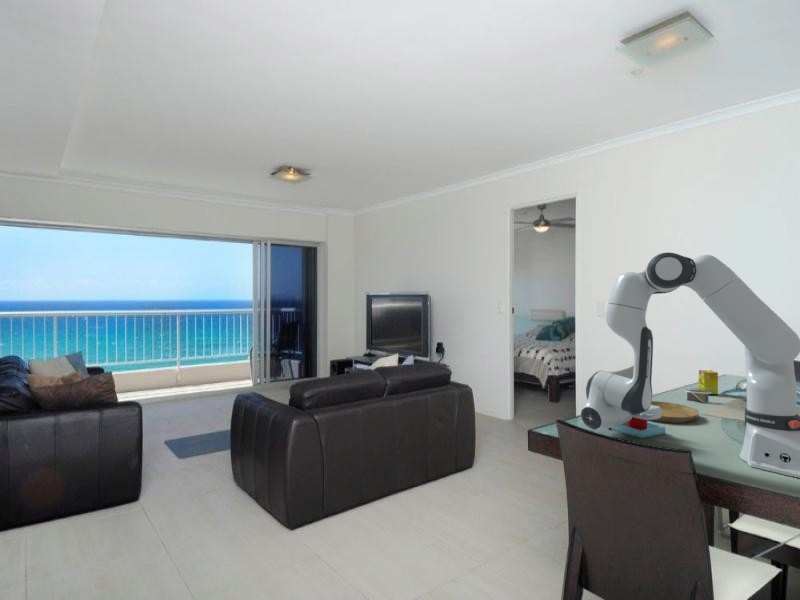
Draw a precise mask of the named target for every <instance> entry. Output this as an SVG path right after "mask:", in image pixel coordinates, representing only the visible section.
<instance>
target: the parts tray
mask: <svg viewBox="0 0 800 600" xmlns="http://www.w3.org/2000/svg"><path fill="white" fill-rule="evenodd" d="M611 429H613V430H616V431H615V432H617V431H618V432H617V433H620V432H622V433H621V434H624V433H625V434H624V435H627V434H629V435H628V436H630V435H633V436H632V437H634V436H636V437H635V438H637V437H640V438H644V439H648V438H647V437H649V438H653V437H656V436H662V435H666V426H664V425H660V424H656V423H653V422H649V421H647V429H644V430H639V429H635V428H632V427H628V426H627V423H624V424H621V425H618V426H614V427H612V428H611ZM611 429H610V430H611ZM613 430H612V431H613ZM640 438H639V439H640Z"/></svg>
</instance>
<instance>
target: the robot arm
mask: <svg viewBox="0 0 800 600" xmlns="http://www.w3.org/2000/svg"><path fill="white" fill-rule="evenodd" d="M680 287H687V288H690V289H691V290H692V291H694V292H695V293H696V294H697V296H698V297H699V298H700V299H701V300H702V301H703V302H704V303H705V304H706V306H707V307H708V308H709V309H710V310H711V311H712V312H713V313H714V315H715V316H716V317H717V318H718V319H719V320H720V321H721V322H722V323H723V324H724V325H725V326H726V327H727V329H729V331H730V332H731V333H733V335H734V336H735V337H736V338H737V339H738V340H739V341H740V343H742V345H744V358H745V372H746V373H745V376H746V408H745V409H744V426H745V432H744V433H745V434H744V438H743V445H742V447H741V450H740V453H739V458H740V459H741V460H742V461H744V462H746V463H747V465H748V466H749V467H752V468H756V469H760V470H764V471H769V472H773V473H777V474H781V475H784V476H790V477H793V476H794V477H793V478H797V477H798V478H797V479H800V415H799V414H798V412H797V411H798V410H797V409H798V406H797V405H798V403H797V400H798V398H797V396H798V395H797V391H798V390H797V389H798V385H797V379H796V373H795V363H794V362H795V361H794V360H795V359H796V358H797V357H799V354H800V337H799V335H798V334H797V332H795V331H794V330H793V329H792V328H791V327H790V326H789V325H788V323H786V321H784V320H783V319H782V318H781V317H780V316H779V315H778V314H777V313H775V311H774V310H772V309H771V308H770V307H769V305H767V304H766V303H765V302H764V301H763V299H761V298H760V297H759V296H758V295H756V293H755V292H754V291H753V290H752V289H751V288H750V287H749V286H748V285H747V284H746V282H744V281H743V280H742V278H740V276H738V274H737V273H735V271H733V270H732V269H731V268H730V267H729V266H728V265H727V264H725V263H724V262H723V261H721V259H719V258H716V257H715V256H714V255H711V254H702V255H698V256H697V257H694V258H691V257H686V256H684V255H681V254H679V253H675V252H668V251H667V252H662V253H659V254H656V255H655V256H654V257H652V259H650V261H649V262H648V263H647V265H646V267H645V269H644V270H643V271H642V272H635V271H634V272H630V271H629V272H625V273H624V272H623V273H621V274H620V275H619V276H617V279H616V281H615V283H614V284H613V287H612V290H611V293H610V294H609V295H610V296H609V298H608V304H607V307H606V311H605V321H606V324H607V325H608V327H609V329H610V330H611V331H613V333H614V334H616V335H617V336H619V337H620V338H622V339H624V340H625V341H626V342H627V343H628V344H629V345H630V346H631V347H632V350H633V353H634V355H633V356H634V357H633V368H632V369H633V370H632V373H633V374H632V378H629V377H626V376H622V375H618V374H616V373H613V372H609V371H605V370H598V371H596V372H595V373H593V374H592V375H591V376H590V377H589V379H587V382H586V387H585V388H586V389H585V394H586V403H585V404H584V406H582V408H581V410H580V417H581V420H582V422H583V424H584V425H585V426H586V427H587V428H589V429H591V430H593V431H605V430H609V428H612V427H614V426H618V425H621V424H624V423H627V422H629V421H630V420H631V418H632V417H634V418H639V419H644V420H647V421H653V419H658V418H661V408H660V407H659V406H654V405H652V404H651V403H652V401H653V387H652V377H653V376H652V375H653V357H654V355H653V352H654V335H653V332H652V330H651V329H650V328H649V327H648V326H647V321H646V315H647V309H648V305H649V301H650V299H651V296H652V295H656V294H657V295H659V294H667V293H668V294H669V293H671V292H673V291H676V290H677V289H678V288H680Z"/></svg>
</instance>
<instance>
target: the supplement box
mask: <svg viewBox="0 0 800 600" xmlns="http://www.w3.org/2000/svg"><path fill="white" fill-rule="evenodd" d="M718 383H719V372H716V371H714V370H710V369H707V370H706V369H704V370H703V369H698V387H699V388H704V389H706V391H710V392H711V394H708V396H715V397H716V396H718V395H719V384H718ZM701 391H703V389H701Z"/></svg>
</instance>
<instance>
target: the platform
mask: <svg viewBox="0 0 800 600" xmlns="http://www.w3.org/2000/svg"><path fill="white" fill-rule="evenodd" d="M701 389H703V391H701ZM684 392H685V393H686V394H687V395H686V400H687V401H689V402H690V401H691V402H701V403H709V395H708V394H711V392H710V391H706V389H704V388H699V386H697V387H696V389H684Z"/></svg>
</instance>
